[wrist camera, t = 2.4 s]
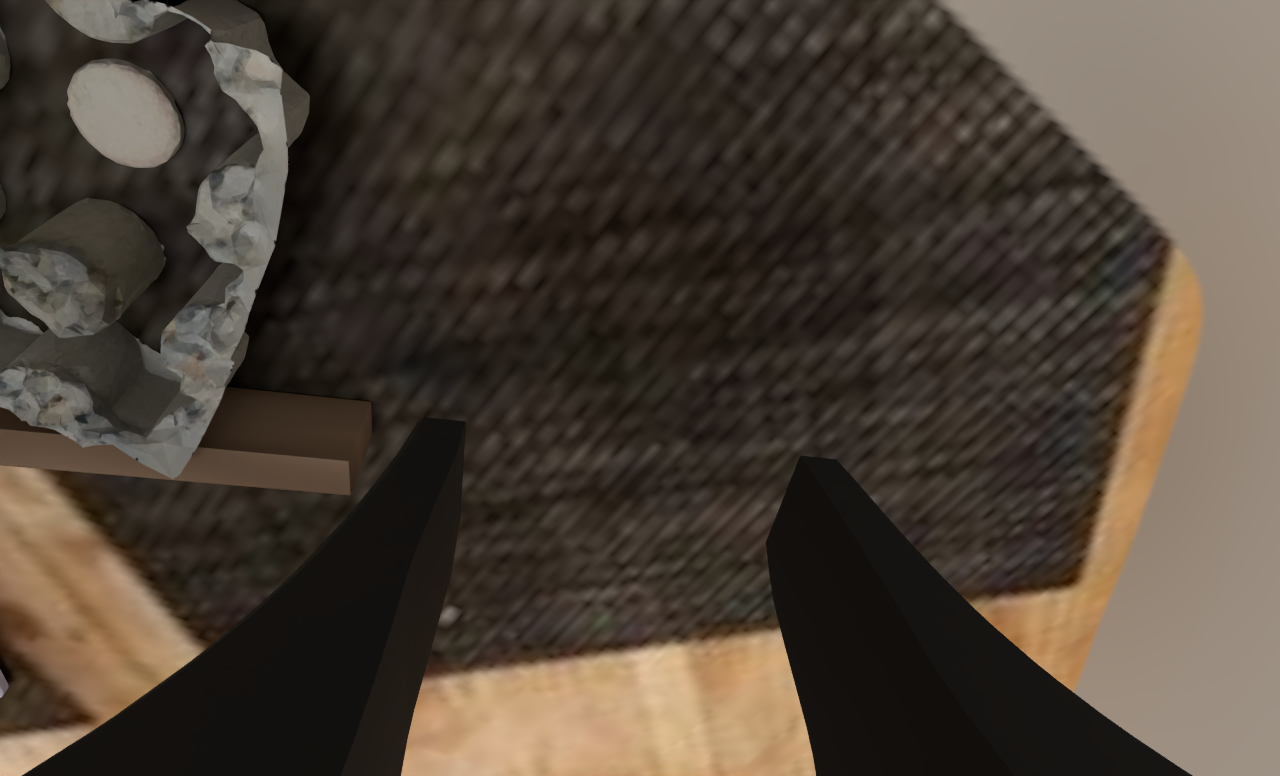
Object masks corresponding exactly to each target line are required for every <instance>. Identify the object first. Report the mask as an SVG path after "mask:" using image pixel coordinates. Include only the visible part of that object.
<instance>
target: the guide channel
mask: <svg viewBox="0 0 1280 776" xmlns="http://www.w3.org/2000/svg"><path fill="white" fill-rule="evenodd" d="M371 437H372V409H371V402H368V401H358V400H349V399H339V398H329V397H320V396H310V395H300V394H291V393H281V392H272V391H262V390H252V389H243V388H233V387H225V390H224V393H223V396H222V398H221V401H220V403H219V406H218V408H217V410H216V411H215V413H214V415H213V417H212V419H211V421H210V423H209V425H208V427H207V429H206V432H205V434H204V435H203V437H202V439H201V441H200V443H199V445H198V447H197V448H196V450H195V452H194V453H193V455H192V456H191V458H190V459H189V461H188V463H187V464H186V466H185V467H184V469H183V470H182V472H181V474H180V475H178V476H177V477H175V478H174V479H171V478H169V477H167V476H165V475H163V474H161V473H159V472H157V471H155V470H153V469H151V468H149V467H147V466H145V465H143V464H142V463H140V462H138V461H137V460H135V459H134V458H132V457H130V456H129V455H127V454H126V453H124V452H123V451H121V450H120V449H118V448H117V447H116V446H114V445H113V444H111V445H94V446H89V447H84V448H83V447H81V446H80V445H79V444H78V443H77V442H75V441H73V440H72V439H70V438H68V437H66V436H64V435H63V434H61V433H59V432H58V431H56V430H54V429H49V428H45V427H38V426H30V425H29V424H28V422H27V421H21V420H20V418H19V417H17V416H16V415H15V414H14V413H13V412H11V411H10V410H8V409H6V408H2V407H0V465H4V466H16V467H27V468H39V469H51V470H62V471H74V472H86V473H97V474H109V475H120V476H132V477H144V478H155V479H167V480H179V481H190V482H202V483H214V484H225V485H237V486H249V487H260V488H272V489H283V490H295V491H307V492H318V493H330V494H342V495H351V492H352V490H353V487H354V484H355V481H356V479H357V476H358V473H359V470H360V468H361V465H362V462H363V459H364V456H365V454H366V451H367V448H368V445H369V443H370V440H371Z"/></svg>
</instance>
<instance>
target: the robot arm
mask: <svg viewBox="0 0 1280 776" xmlns="http://www.w3.org/2000/svg"><path fill="white" fill-rule="evenodd" d="M465 426H466V422H464V421H455V420H445V419H435V418H423V419H422V420H420V421H419V422H417V424H416V426H415V427H414V429H413V431H412V432H411V434H410V436H409V437H408V439H407V440H406V442H405V443H404V445H403V446H402V448H401V449H400V451H399V452H398V453H397V455H396V456H395V458H394V459H393V460H392V462H391V463H390V464H389V466H388V467H387V468H386V470H385V471H384V472H383V474H382V475H381V476H380V478H379V479H378V480H377V481H376V483H375V484H374V485H373V486H372V488H371V489H370V490H369V491H368V492H367V494H366V495H365V496H364V497H363V499H362V500H361V501H360V502H359V503H358V505H357V506H356V507H355V508H354V510H353V511H352V512H351V513H350V514H349V515H348V516H347V518H346V519H345V520H344V521H343V522H342V523H341V524H340V525H339V526H338V527H337V528H336V530H335V531H334V532H333V533H332V534H331V535H330V536H329V537H328V538H327V539H326V540H325V541H324V542H323V544H322V545H321V546H320V547H319V548H318V549H317V550H316V551H315V552H314V553H313V554H312V555H311V556H310V557H309V558H308V559H307V560H306V561H305V562H304V563H303V564H302V565H301V566H300V567H299V568H298V569H297V570H296V571H295V572H294V573H293V574H292V575H291V576H290V577H289V578H288V579H287V580H286V581H285V582H284V583H283V584H282V585H281V586H279V587H278V588H277V589H276V590H275V591H274V592H273V593H272V594H271V595H270V596H269V597H267V598H266V599H265V600H264V601H263V602H262V603H261V604H260V605H259V606H257V607H256V608H255V609H254V610H253V611H252V612H250V613H249V614H248V615H247V616H246V617H244V618H243V619H242V620H241V621H240V622H239V623H237V624H236V625H235V626H234V627H233V628H231V629H230V630H229V631H228V632H227V633H225V634H224V635H223V636H222V637H221V638H219V639H218V640H217V641H216V642H215V643H213V644H212V645H211V646H210V647H208V648H207V649H206V650H205V651H203V652H202V653H201V654H199V655H198V656H197V657H196V658H194V659H193V660H192V661H190V662H189V663H188V664H187V665H185V666H184V667H182V668H181V669H180V670H178V671H177V672H175V673H174V674H173V675H171V676H170V677H169V678H167V679H166V680H164V681H163V682H162V683H160V684H159V685H157V686H156V687H155V688H153V689H152V690H150V691H149V692H148V693H146V694H145V695H144V696H142V697H141V698H139V699H138V700H137V701H135V702H134V703H132V704H131V705H130V706H128V707H127V708H125V709H124V710H123V711H121V712H120V713H119V714H117V715H116V716H114V717H113V718H111V719H110V720H108V721H107V722H105V723H104V724H102V725H101V726H99V727H98V728H96V729H95V730H93V731H92V732H90V733H89V734H87V735H85V736H84V737H82V738H81V739H79V740H77V741H76V742H74V743H73V744H71V745H70V746H68V747H66V748H65V749H63V750H62V751H60V752H58V753H57V754H55V755H54V756H52V757H51V758H49V759H47V760H46V761H44V762H43V763H41V764H39V765H38V766H36V767H35V768H33V769H32V770H30V771H28V772H27V773H25V774H24V775H22V776H401V772H402V766H403V760H404V755H405V749H406V744H407V739H408V734H409V730H410V726H411V721H412V717H413V713H414V709H415V705H416V701H417V698H418V694H419V690H420V687H421V683H422V679H423V676H424V672H425V669H426V665H427V661H428V658H429V654H430V650H431V647H432V643H433V640H434V636H435V632H436V629H437V625H438V621H439V618H440V614H441V610H442V607H443V603H444V599H445V596H446V592H447V588H448V585H449V581H450V577H451V571H452V565H453V559H454V553H455V547H456V541H457V534H458V528H459V522H460V513H461V495H462V478H463V461H464V443H465ZM766 547H767V556H768V565H769V574H770V581H771V588H772V595H773V601H774V605H775V609H776V613H777V617H778V621H779V625H780V629H781V632H782V636H783V640H784V644H785V648H786V652H787V655H788V659H789V663H790V666H791V670H792V674H793V678H794V681H795V685H796V689H797V693H798V696H799V700H800V704H801V708H802V711H803V715H804V719H805V723H806V726H807V731H808V735H809V740H810V744H811V749H812V753H813V758H814V764H815V770H816V776H1192V775H1190V774H1189V773H1187V772H1186V771H1184V770H1183V769H1181V768H1180V767H1178V766H1177V765H1175V764H1174V763H1172V762H1171V761H1169V760H1168V759H1166V758H1165V757H1163V756H1162V755H1160V754H1159V753H1157V752H1155V751H1154V750H1153V749H1151V748H1150V747H1148V746H1147V745H1145V744H1144V743H1142V742H1141V741H1139V740H1138V739H1136V738H1135V737H1133V736H1132V735H1130V734H1129V733H1128V732H1126V731H1125V730H1123V729H1122V728H1121V727H1119V726H1118V725H1116V724H1115V723H1114V722H1112V721H1111V720H1109V719H1108V718H1107V717H1105V716H1104V715H1102V714H1101V713H1100V712H1098V711H1097V710H1096V709H1094V708H1093V707H1092V706H1090V705H1089V704H1088V703H1086V702H1085V701H1084V700H1082V699H1081V698H1080V697H1079V696H1077V695H1076V694H1075V693H1073V692H1072V691H1071V690H1069V689H1068V688H1067V687H1065V686H1064V685H1063V684H1061V683H1060V682H1059V681H1058V680H1056V679H1055V678H1054V677H1053V676H1051V675H1050V674H1049V673H1048V672H1046V671H1045V670H1044V669H1043V668H1041V667H1040V666H1039V665H1038V664H1036V663H1035V662H1034V661H1033V660H1032V659H1030V658H1029V657H1028V656H1027V655H1026V654H1025V653H1024V652H1022V651H1021V650H1020V649H1019V648H1018V647H1017V646H1015V645H1014V644H1013V643H1012V642H1011V641H1010V640H1009V639H1007V638H1006V637H1005V636H1004V635H1003V634H1002V633H1000V632H999V631H998V630H997V629H996V628H995V627H994V626H993V625H991V624H990V623H989V622H988V621H987V620H986V619H985V618H984V617H983V616H982V615H981V614H980V613H978V612H977V611H976V610H975V609H974V608H973V607H972V606H971V605H970V604H969V603H968V602H967V601H966V600H965V599H964V598H963V597H962V596H961V595H960V594H959V593H958V592H957V591H956V590H955V589H954V588H953V587H952V586H951V585H950V584H949V583H948V582H947V581H946V580H945V579H944V578H943V577H942V576H941V575H940V574H939V573H938V572H937V571H936V570H935V569H934V568H933V567H932V566H931V565H930V563H929V562H928V561H927V560H926V559H925V558H924V557H923V556H922V555H921V554H920V553H919V552H918V551H917V550H916V548H915V547H914V546H913V545H912V544H911V543H910V542H909V541H908V540H907V539H906V538H905V536H904V535H903V534H902V533H901V532H900V531H899V530H898V529H897V527H896V526H895V525H894V524H893V523H892V522H891V521H890V520H889V518H888V517H887V516H886V515H885V514H884V513H883V512H882V511H881V509H880V508H879V507H878V506H877V505H876V504H875V503H874V501H873V500H872V499H871V498H870V497H869V496H868V495H867V493H866V492H865V491H864V490H863V489H862V488H861V487H860V485H859V484H858V483H857V482H856V481H855V480H854V479H853V477H852V476H851V475H850V474H849V473H848V472H847V471H846V470H845V469H844V468H843V466H842V465H841V464H840V463H839V462H838V461H837V460H836V459H827V458H817V457H807V456H800V458H799V460H798V463H797V465H796V468H795V471H794V473H793V476H792V478H791V481H790V483H789V486H788V488H787V491H786V493H785V496H784V498H783V501H782V503H781V506H780V508H779V511H778V513H777V516H776V518H775V521H774V523H773V526H772V528H771V531H770V533H769V536H768V539H767V541H766ZM8 688H9V687H8V683H7V681H6V679H5V677H4V675H3V673H2V672H1V670H0V698H1V697H2V696H3V695H4V693H5V692H6V690H7V689H8Z"/></svg>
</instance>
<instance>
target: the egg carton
mask: <svg viewBox="0 0 1280 776" xmlns="http://www.w3.org/2000/svg"><path fill="white" fill-rule="evenodd" d="M45 1H46V2H47V3H48V4H49V5H50V6H51V7H52V8H53V9H54V10H55V11H56V12H57V13H58V14H59V15H60V16H61V17H62V18H63V19H65V20H66V21H67V22H68V23H69V24H71V25H72V26H74V27H75V28H76V29H78V30H79V31H81V32H82V33H84V34H86V35H88V36H89V37H92V38H95V39H98V40H102V41H107V42H112V43H134V42H137V41H139V40H142V39H144V38H147V37H149V36H152V35H154V34H157V33H159V32H162V31H164V30H166V29H168V28H170V27H172V26H174V25H176V24H178V23H180V22H182V21H184V20H186V19H188V18H189V19H191V20H193V21H194V22H196V23H198V24H200V25H201V26H202V27H203V28H204V29H205V30H206V31H207V32H208V33H209V34H210V40H209V41H208V43H207V44H206V45H205V47H206V49H207V50H208V52H209V53H210V55H211V58H212V61H213V64H214V76H215V78H216V80H217V81H218V83H219V85H220V87H221V89H222V91H223V92H225V93H226V94H228V95H229V96H231V97H232V98H234V99H235V100H236V101H237V102H238V103H239V105H240V106H241V108H242V109H243V110H244V111H245V112H246V113H247V114H248V115H249V116H250V117H251V119H252V120H253V121H254V123H255V124H256V125H257V127H258V130H259V133H258V134H256V135H255V136H253V137H252V138H251V139H249V140H248V141H247V142H246V143H245V144H244V145H243V146H241V147H240V148H239V149H238V150H237V151H235V152H234V153H233V154H232V155H231V156H230V157H229V158H228V159H226V160H225V161H224V162H223V163H222V164H221V165H220V166H218V167H217V168H216V169H215V170H213V171H212V172H211V173H210V175H209V176H208V177H207V178H206V179H205V180H204V181H203V182H202V183H201V185H200V188H199V190H198V197H197V205H196V214H195V216H194V218H193V220H192V222H191V223H190V224H189V225H188V226H187V230H188V232H189V234H190V235H192V236H193V237H194V238H195V239H196V240H197V241H198V242H199V243H200V244H201V245H202V246H203V247H204V248H205V249H206V251H207V253H208V254H209V256H210V257H211V258H212V259H213V260H214V261H215V262H223V263H222V264H220V265H219V266H218V267H217V268H216V270H215V272H214V273H213V274H212V275H211V276H210V278H209V279H208V280H207V281H206V282H205V283H204V284H203V286H202V287H201V288H200V289H199V290H198V291H197V292H196V294H195V295H194V296H193V297H192V298H191V299H190V300H189V302H188V303H187V304H186V305H185V306H184V307H183V308H182V309H181V310H180V311H179V312H178V314H177V315H176V316H175V317H174V318H173V320H172V321H171V322H170V323H169V324H168V326H167V327H166V328H165V329H164V330H163V332H162V336H161V354H160V353H158V352H156V351H154V350H152V349H151V348H149V347H148V346H147V345H143V344H142V343H141V342H140V340H139V339H138V338H136V337H134V336H133V335H132V334H131V333H130V332H129V331H128V330H127V329H125V328H124V327H123V326H122V325H120V324H119V323H118V322H115V321H116V320H117V319H119V318H120V317H121V315H122V314H123V312H124V311H125V310H126V309H127V308H128V307H129V306H130V305H131V304H132V303H133V302H134V301H135V300H136V299H137V298H138V297H139V296H140V295H141V294H142V293H143V292H144V291H145V290H146V289H147V288H148V287H149V285H150V284H151V283H152V282H153V281H154V280H156V279H157V278H158V276H159V274H160V273H161V272H162V269H163V267H164V266H165V261H166V259H167V258H166V257H165V256H164V253H163V250H164V246H163V245H161V243H160V242H159V241H158V238H157V236H156V235H155V233H154V231H153V230H152V229H151V228H150V227H149V226H148V225H147V224H146V223H145V222H144V221H143V220H142V219H141V218H140V217H139V216H138V215H136V214H135V213H134V212H133V211H130V210H129V209H127V208H125V207H123V206H122V205H120V204H118V203H115V202H112V201H109V200H101V199H92V198H86V199H83V200H80V201H78V202H76V203H74V204H73V205H71V206H69V207H68V208H66V209H65V210H63V211H62V212H60V213H59V214H57V215H56V216H54V217H53V218H51V219H50V220H48V221H47V222H46V223H44V224H42V225H41V226H39V227H38V228H37V229H35V230H34V231H32V232H31V233H29V234H28V235H26V236H25V237H23V238H22V239H21V240H19V241H18V242H16V243H14V244H11V245H8V246H5V247H3V248H1V249H0V268H1V269H2V274H3V280H4V286H5V288H6V290H7V292H8V293H9V294H10V295H11V296H12V297H13V298H14V299H15V300H16V301H18V302H19V303H20V304H21V305H22V306H23V307H24V308H25V309H26V310H27V311H28V312H29V313H30V314H32V315H34V316H36V317H38V318H39V319H41V320H42V321H44V322H45V323H46V325H47V326H48V327H49V329H48V330H46V331H45V332H42V331H41V330H40V329H39V327H38V326H36V325H34V324H33V323H32V322H31V321H30V322H29V321H27V320H26V319H22V318H19V317H11V318H10V317H8V316H6V315H5V314H4V313H3V312H2V311H1V309H0V407H2V408H6V409H8V410H10V411H11V412H13V413H14V414H15V415H16V416H17V417H19V418H20V420H21V421H27V422H28V424H29V425H30V426H38V427H45V428H49V429H54V430H56V431H58V432H59V433H61V434H63V435H64V436H66V437H68V438H70V439H72V440H73V441H75V442H77V443H78V444H79V445H80V446H81V447H83V448H84V447H89V446H94V445H111V444H113V445H114V446H116V447H117V448H118V449H120V450H121V451H123V452H124V453H126V454H127V455H129V456H130V457H132V458H134V459H135V460H137V461H138V462H140V463H142V464H143V465H145V466H147V467H149V468H151V469H153V470H155V471H157V472H159V473H161V474H163V475H165V476H167V477H169V478H171V479H174V478H175V477H177V476H178V475H180V474H181V472H182V470H183V469H184V467H185V466H186V464H187V463H188V461H189V459H190V458H191V456H192V455H193V453H194V452H195V450H196V448H197V447H198V445H199V443H200V441H201V439H202V437H203V435H204V434H205V432H206V429H207V427H208V425H209V423H210V421H211V419H212V417H213V415H214V413H215V411H216V410H217V408H218V406H219V403H220V401H221V398H222V396H223V393H224V390H225V387H226V386H227V384H228V383H229V382H230V381H231V379H232V377H233V376H234V374H235V372H236V370H237V369H238V368H239V367H240V365H241V363H242V362H243V360H244V359H245V355H246V350H247V346H248V342H249V336H248V335H247V334H246V333H245V332H244V330H245V328H246V324H247V320H248V317H249V313H250V310H251V308H252V305H253V302H254V299H255V296H256V293H257V290H258V288H259V285H260V283H261V280H262V277H263V275H264V272H265V270H266V267H267V265H268V262H269V260H270V257H271V255H272V252H273V250H274V248H275V244H276V238H277V233H278V227H279V221H280V216H281V210H282V204H283V198H284V192H285V186H286V180H287V174H288V147H290V145H291V144H292V143H293V142H294V140H296V139H297V138H298V137H299V135H300V134H301V133H302V130H303V128H304V125H305V122H306V119H307V117H308V115H309V103H310V96H309V94H308V93H307V92H306V91H305V90H304V89H303V88H301V87H300V86H299V85H298V84H297V83H296V82H295V81H294V80H293V79H292V78H291V77H290V76H289V75H288V74H287V73H285V72H284V70H283V69H282V67H281V66H280V65H279V63H278V62H277V61H276V59H275V57H274V55H273V52H272V49H271V47H270V44H269V42H268V36H267V31H266V27H265V24H264V22H263V20H262V19H261V17H260V16H259V14H258V13H257V12H255V11H253V10H252V9H250V8H248V7H247V6H245V5H243V4H241V3H240V2H239V1H237V0H187V1H185V2H183V3H182V4H180V5H177V6H174V7H172V6H169V5H166V4H163V3H159V2H156V1H153V0H140V1H135V2H134V1H129V0H45ZM10 67H11V66H10V55H9V52H8V48H7V45H6V38H5V35H4V33H3V32H2V30H1V28H0V89H2V88H3V87H4V86H5V85H6V83H7V82H8V80H9V75H10ZM170 89H171V88H170ZM67 93H68V97H69V100H68V103H67V105H68V107H69V109H70V111H71V112H70V115H71V117H72V119H73V121H74V122H75V124H76V126H77V128H78V129H79V131H80V133H81V134H82V135H83V136H84V138H85V139H86V140H87V141H88V142H89V143H90V144H91V145H92V146H93V147H95V148H96V149H97V150H98V151H99V152H100V153H101V154H103V155H104V156H105V157H107V158H109V159H111V160H113V161H115V162H116V163H119V164H123V165H127V166H131V167H135V168H150V167H156V166H158V165H161V164H163V163H165V162H167V161H168V160H170V159H171V158H172V157H173V156H174V155H175V154H176V153H177V151H178V150H179V149H180V148H181V146H182V143H183V139H184V132H185V128H184V124H183V119H182V117H181V114H180V112H179V110H178V108H177V107H176V105H175V101H174V98H173V97H172V95H171V94H170V93H169V91H168V90H167V88H166V87H165V86H164V85H163V84H162V83H161V82H160V81H159V80H158V79H157V78H156V77H155V76H154V75H153V74H152V73H151V72H150V71H147V70H145V69H143V68H141V67H139V66H137V65H135V64H133V63H131V62H128V61H123V60H119V59H101V60H92V61H90V62H89V63H87V64H86V65H84V66H82V67H81V68H79V69H78V70H77V71H76V72H75V73H74V75H73V77H72V80H71V82H70V84H69V87H68V90H67ZM173 94H174V93H173ZM5 211H6V197H5V194H4V192H3V190H2V186H1V184H0V220H1V218H2V217H3V215H4V213H5Z"/></svg>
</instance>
